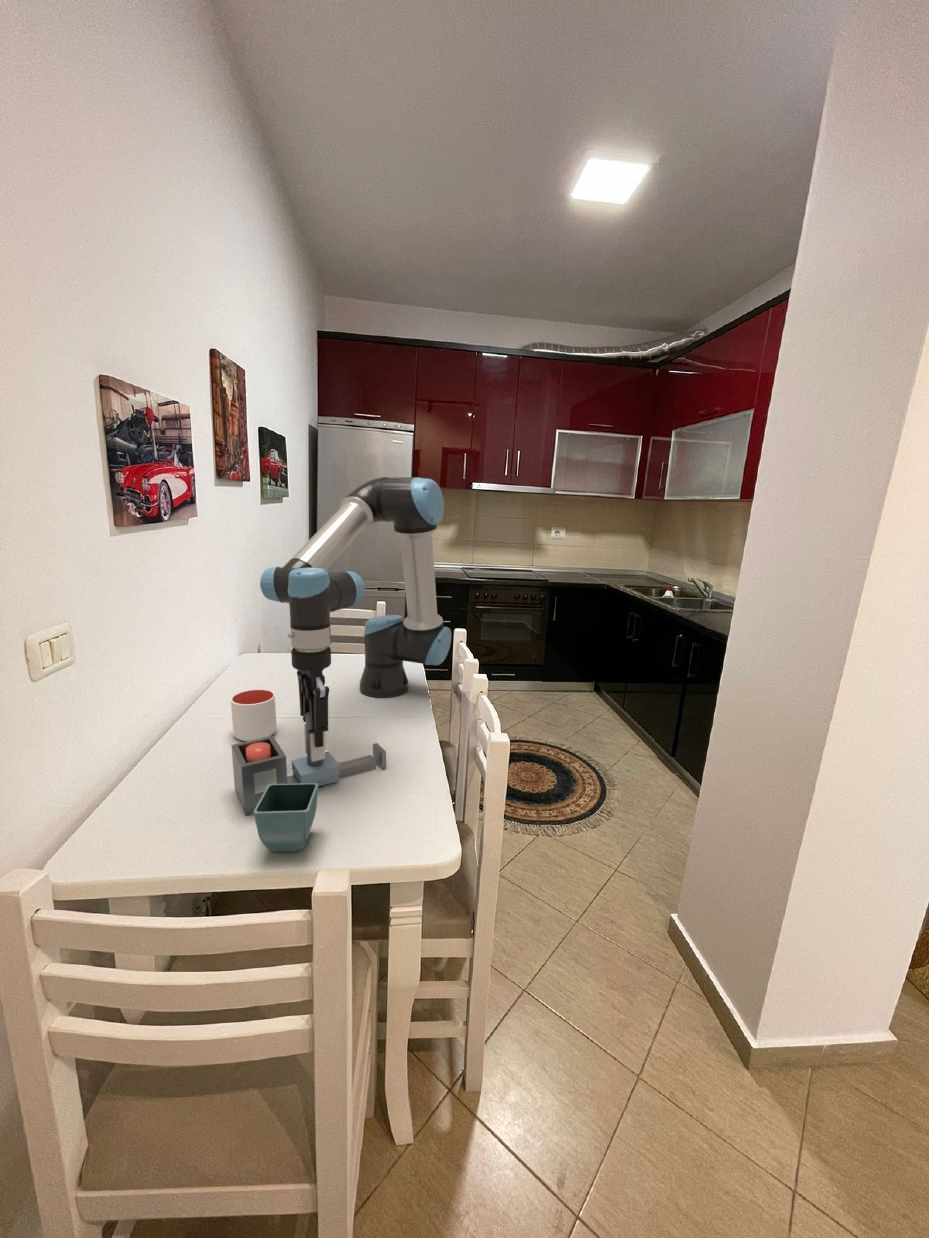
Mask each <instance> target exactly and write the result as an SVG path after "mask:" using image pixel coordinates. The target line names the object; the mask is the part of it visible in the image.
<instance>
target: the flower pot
mask: <svg viewBox="0 0 929 1238" xmlns="http://www.w3.org/2000/svg"><path fill="white" fill-rule="evenodd" d="M318 792H319V786H318V783H296V784H295V783H294V784H269V785H268V786H267V787H266V789H265V791H264V793H263V795H262V797H261V799H260V800H259V802H258V804H257V806H256V807H255V809H254V812H253V813H252V814H253V817H254V821H255V826H256V829H257V834H258V837H259V840H260V841H261V843H262V845H264V846H265V848H266V849H268V850H269V851H270V852H271V853H284V852H285V853H286V852H290V853H291V852H301V851H302V850H303V849H304V848H305V846H306V843H307V840H308V837H309V835H310V831H311V828H312V826H313V823H314V820H315V818H316V817H315V816H316V812H317V805H318V794H319V793H318Z"/></svg>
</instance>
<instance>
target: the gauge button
mask: <svg viewBox="0 0 929 1238" xmlns="http://www.w3.org/2000/svg"><path fill="white" fill-rule="evenodd" d="M267 758H271V753H270V745H269V744H268V743H264V742H259V743H254V744H251V745H249V746H248V747H247V748H246V760H247V763H250V762H254V761H258V760H262V759H267Z"/></svg>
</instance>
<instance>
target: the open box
mask: <svg viewBox="0 0 929 1238" xmlns="http://www.w3.org/2000/svg"><path fill="white" fill-rule="evenodd" d="M259 742H264V743H268V744H269V745H270V753H271V758H267V759H262V760H258V761H254V762H250V763H247V760H246V748H247V747H248V746H249V745H251V744H254V743H259ZM230 746H231V758H232V759H231V760H232V769H233V770H232V771H233V772H232V773H233V783H234V791H235V794H236V796H237V799H238V802H239V804H240V806H241V809H242V812H243V813H244V816H249V815H252V814H254V813H253V812H254V809H255V807H256V806H257V804H258V802H259V800H260V799H261V797H262V795H263V793H264V791H265V789H266V787H267V786H268V785H269V784H288V782H287V776H288V766H287V765H288V764H287V755H286V754H285V752H284V751H283V749H282V747H281V746H280V744H279V742H278V741H277V740H276V738H275V736H274V735H271V736H270V737H266V738H261V739H256V740H252V741H243V742H239V743H233V744H231V745H230Z"/></svg>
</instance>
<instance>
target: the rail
mask: <svg viewBox="0 0 929 1238" xmlns="http://www.w3.org/2000/svg"><path fill="white" fill-rule="evenodd" d="M337 763H338V764H339V765H340V774H339V780H341V779H344V778H348V777H352V776H355V775H358V774H362V773H365V772H369V771H372V770H376V769H377V765H378V767H379V768H380V769H381V770H385V769H387V751H386V750H385V749H384V748H383V747H382V746H381V745H380V744H379V743H378V742H374V743H372V754H368V755H364V756H361V757H358V758H352V759H349V760H344V761H342V762H337ZM287 782H288V784H294V783H295V784H296V783H299V780H298V778H297V777H296V775H293V774H292V775H287Z"/></svg>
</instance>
